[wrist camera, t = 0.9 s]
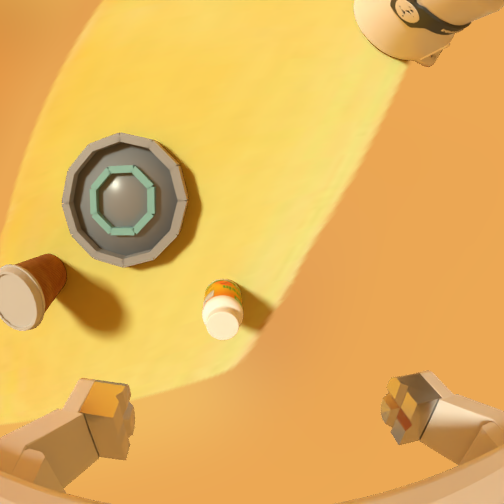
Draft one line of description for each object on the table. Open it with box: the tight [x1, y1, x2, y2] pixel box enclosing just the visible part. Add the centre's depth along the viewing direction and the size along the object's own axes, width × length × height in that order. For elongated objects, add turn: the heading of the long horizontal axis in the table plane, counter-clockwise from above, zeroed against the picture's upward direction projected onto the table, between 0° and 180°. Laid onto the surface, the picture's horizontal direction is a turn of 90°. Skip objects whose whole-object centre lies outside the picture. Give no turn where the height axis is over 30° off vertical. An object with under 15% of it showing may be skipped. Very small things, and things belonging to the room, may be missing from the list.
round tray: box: [62, 133, 189, 267], centre depth 42 cm, size 18×18×2 cm
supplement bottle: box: [202, 279, 243, 340], centre depth 43 cm, size 5×5×10 cm
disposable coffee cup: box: [0, 254, 67, 331], centre depth 39 cm, size 10×10×12 cm
